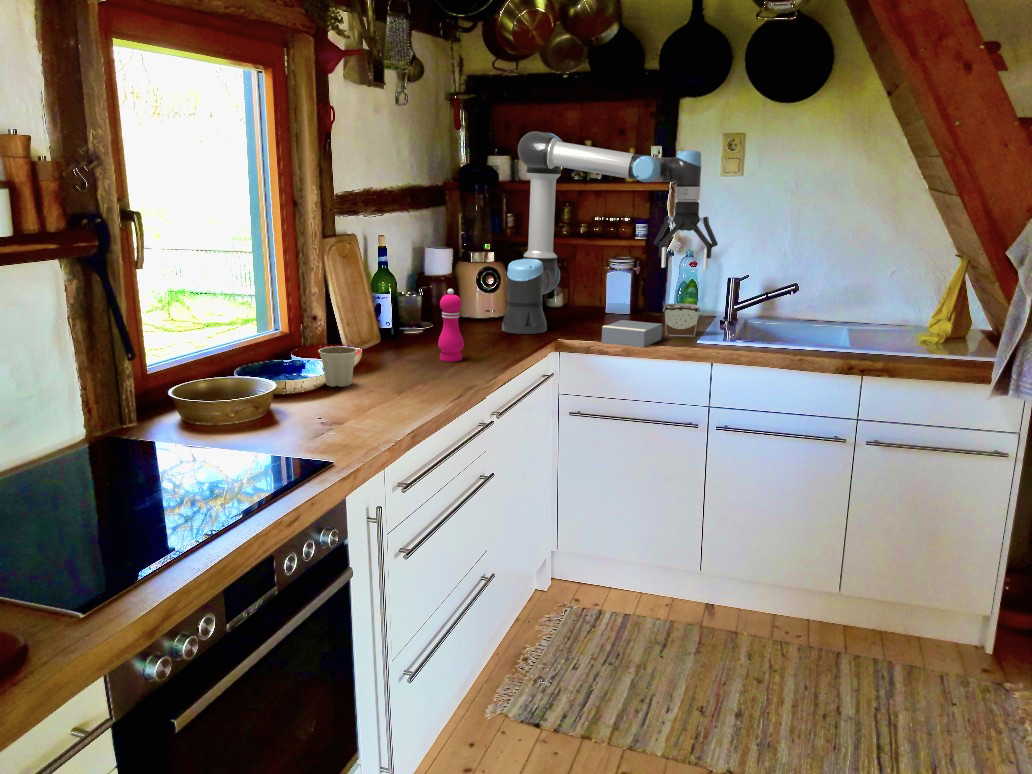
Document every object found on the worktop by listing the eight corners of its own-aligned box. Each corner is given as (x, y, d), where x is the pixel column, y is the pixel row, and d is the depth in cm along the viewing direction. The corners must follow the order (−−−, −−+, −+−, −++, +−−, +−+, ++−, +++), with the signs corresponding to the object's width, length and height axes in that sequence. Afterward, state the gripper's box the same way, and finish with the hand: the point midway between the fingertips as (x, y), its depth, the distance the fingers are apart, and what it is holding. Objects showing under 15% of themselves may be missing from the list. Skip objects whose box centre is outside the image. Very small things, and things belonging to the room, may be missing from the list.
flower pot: (365, 381, 208) (364, 347, 206) (346, 390, 199) (345, 355, 197) (332, 378, 211) (331, 345, 208) (312, 387, 202) (310, 352, 200)
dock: (601, 342, 261) (602, 326, 260) (621, 334, 275) (621, 319, 273) (643, 347, 254) (644, 330, 253) (661, 339, 268) (662, 323, 267)
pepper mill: (449, 355, 239) (448, 286, 234) (469, 358, 235) (469, 288, 230) (433, 359, 234) (432, 288, 229) (452, 363, 230) (452, 291, 225)
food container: (697, 333, 280) (699, 303, 277) (699, 336, 274) (701, 306, 271) (660, 332, 281) (661, 302, 278) (661, 335, 275) (663, 305, 272)
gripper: (646, 200, 266) (643, 267, 271) (725, 201, 256) (721, 270, 261) (651, 200, 273) (649, 265, 278) (729, 201, 263) (725, 268, 268)
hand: (684, 268), depth 270 cm, fingers open, 13 cm apart
